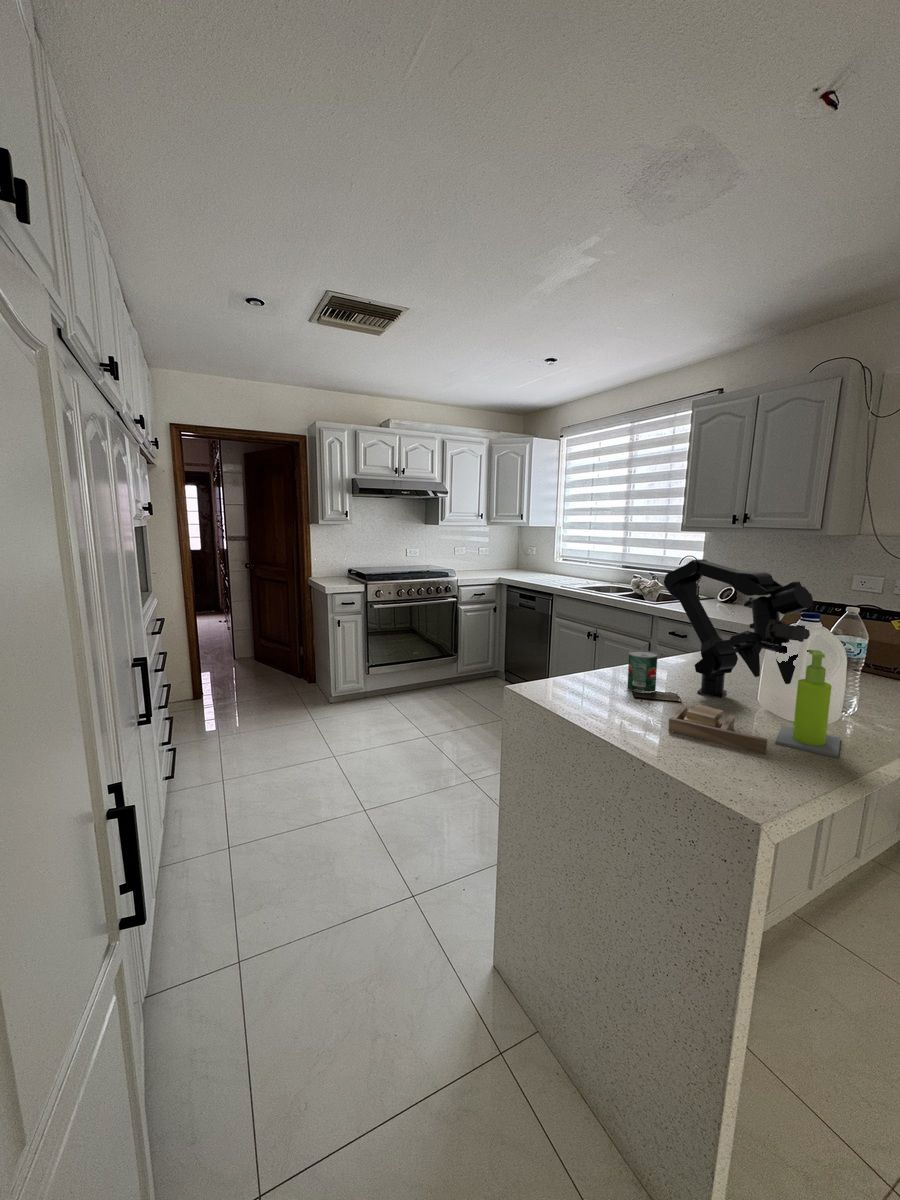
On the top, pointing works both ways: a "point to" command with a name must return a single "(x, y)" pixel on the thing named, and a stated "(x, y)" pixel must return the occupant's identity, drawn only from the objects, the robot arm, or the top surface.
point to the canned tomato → (642, 670)
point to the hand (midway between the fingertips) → (772, 680)
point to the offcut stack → (705, 716)
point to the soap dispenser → (812, 704)
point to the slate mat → (827, 749)
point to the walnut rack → (716, 732)
